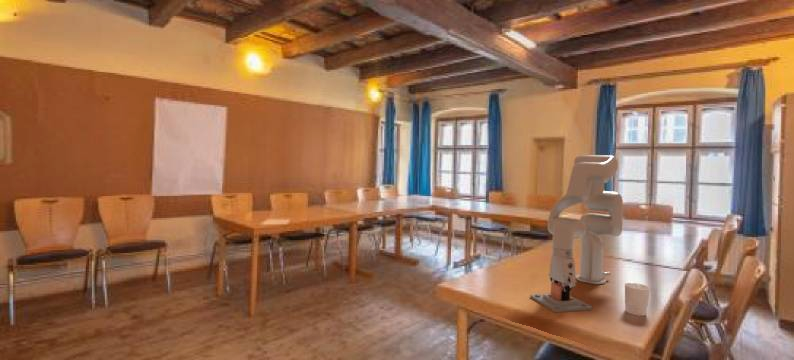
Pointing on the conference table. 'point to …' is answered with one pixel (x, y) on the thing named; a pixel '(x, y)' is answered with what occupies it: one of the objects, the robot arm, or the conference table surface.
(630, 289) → the white cup
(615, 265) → the conference table surface
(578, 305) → the baseplate
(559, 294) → the pink knobbed block
